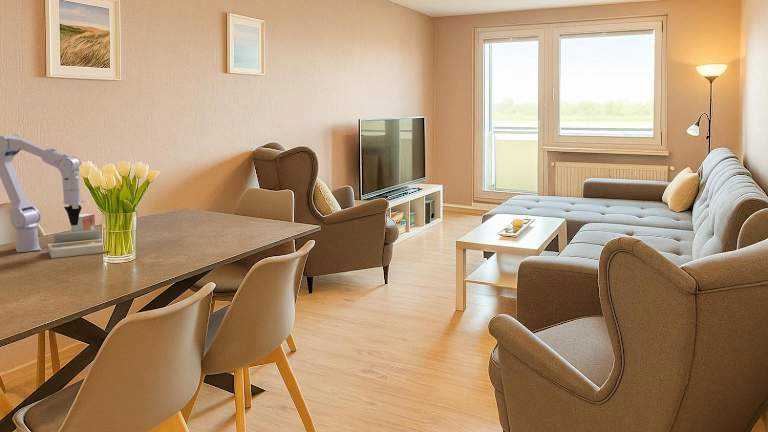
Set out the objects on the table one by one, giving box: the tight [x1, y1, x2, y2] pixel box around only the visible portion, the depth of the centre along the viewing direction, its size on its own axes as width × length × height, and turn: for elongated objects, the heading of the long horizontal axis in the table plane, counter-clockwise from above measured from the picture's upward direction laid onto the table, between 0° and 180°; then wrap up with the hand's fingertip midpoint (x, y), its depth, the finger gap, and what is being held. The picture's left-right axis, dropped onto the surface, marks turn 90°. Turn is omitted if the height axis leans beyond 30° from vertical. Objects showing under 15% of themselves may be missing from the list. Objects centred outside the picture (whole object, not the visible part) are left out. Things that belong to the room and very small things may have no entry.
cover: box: [52, 229, 102, 244], centre depth 243 cm, size 17×6×1 cm
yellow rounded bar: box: [68, 242, 95, 246], centre depth 243 cm, size 9×3×3 cm
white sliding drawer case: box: [47, 238, 104, 259], centre depth 242 cm, size 20×11×3 cm, turn 123°
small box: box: [70, 213, 96, 242], centre depth 262 cm, size 8×6×10 cm
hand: (74, 225), depth 241 cm, fingers closed
